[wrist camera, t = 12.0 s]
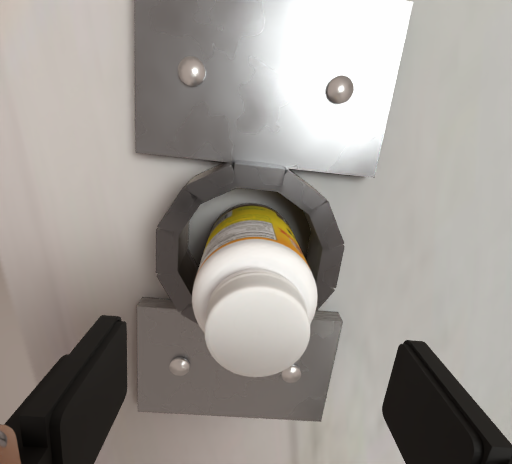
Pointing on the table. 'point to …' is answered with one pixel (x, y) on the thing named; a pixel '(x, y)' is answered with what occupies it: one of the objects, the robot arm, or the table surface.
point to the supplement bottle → (254, 292)
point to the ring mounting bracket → (255, 165)
